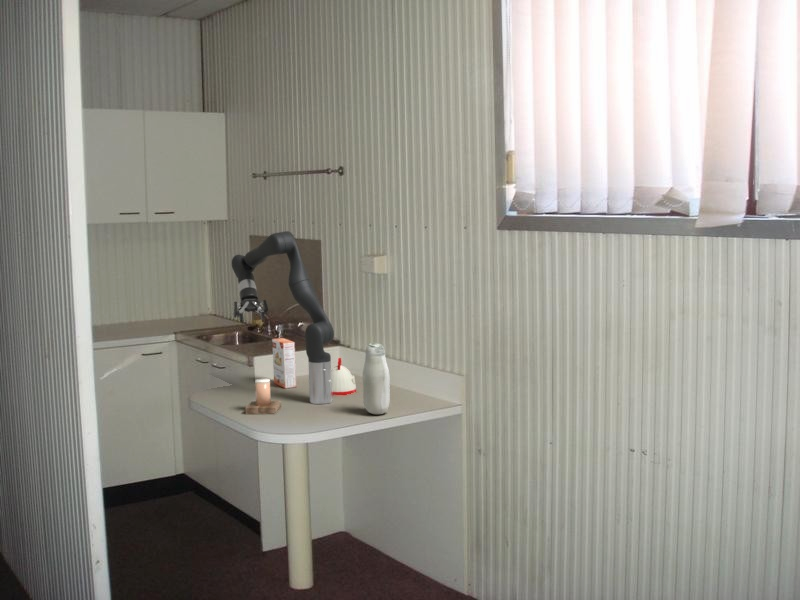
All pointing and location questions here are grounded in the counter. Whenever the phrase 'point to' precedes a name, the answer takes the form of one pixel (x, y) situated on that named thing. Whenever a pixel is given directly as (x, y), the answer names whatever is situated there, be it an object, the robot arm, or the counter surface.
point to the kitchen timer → (342, 380)
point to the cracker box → (284, 362)
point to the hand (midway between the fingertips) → (252, 321)
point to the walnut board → (263, 408)
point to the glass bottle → (376, 380)
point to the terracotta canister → (263, 392)
